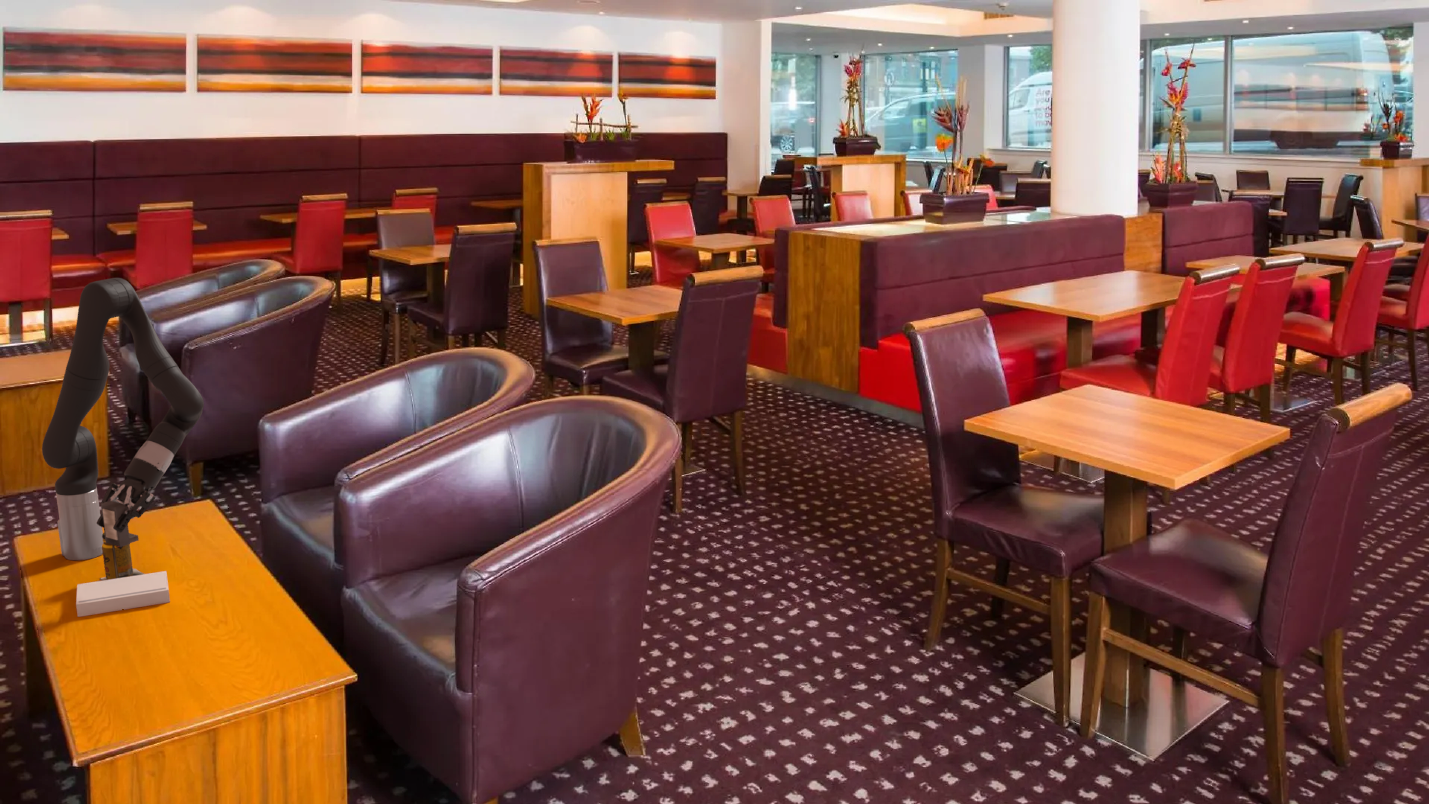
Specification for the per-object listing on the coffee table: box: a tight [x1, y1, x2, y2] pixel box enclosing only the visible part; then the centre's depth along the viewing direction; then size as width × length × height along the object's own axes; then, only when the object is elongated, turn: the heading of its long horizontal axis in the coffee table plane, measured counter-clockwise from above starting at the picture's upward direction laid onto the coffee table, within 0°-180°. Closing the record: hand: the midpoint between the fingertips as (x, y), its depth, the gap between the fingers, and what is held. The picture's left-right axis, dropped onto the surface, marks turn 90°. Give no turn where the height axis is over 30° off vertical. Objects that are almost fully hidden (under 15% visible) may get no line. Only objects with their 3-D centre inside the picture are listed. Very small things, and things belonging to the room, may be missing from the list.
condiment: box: [99, 532, 145, 581], centre depth 293 cm, size 7×8×12 cm
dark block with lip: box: [100, 500, 139, 547], centre depth 278 cm, size 6×5×10 cm
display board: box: [75, 570, 171, 618], centre depth 281 cm, size 19×13×3 cm
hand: (108, 528), depth 275 cm, fingers closed on dark block with lip, 5 cm apart
